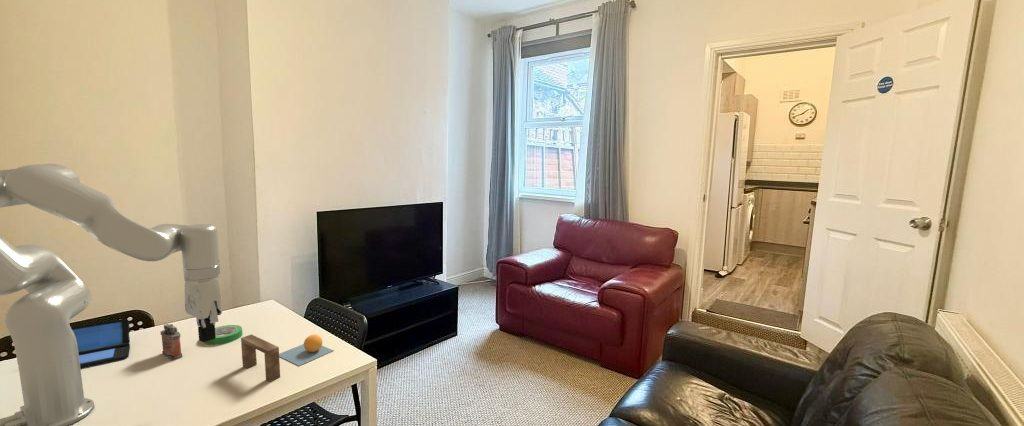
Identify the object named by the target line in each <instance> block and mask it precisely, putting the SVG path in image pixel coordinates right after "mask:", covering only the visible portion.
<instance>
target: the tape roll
mask: <svg viewBox="0 0 1024 426" xmlns="http://www.w3.org/2000/svg"><path fill="white" fill-rule="evenodd" d="M221 334H223V335H221ZM215 335H216V338H215V339H212V340H209V341H206V342H203V343H204V344H206V345H213V346H215V345H217V346H218V345H224V344H228V343H231V342H234V341H236V340H239V339H241V338H242V337H243V327H242V326H241V325H239V324H228V325H227V324H226V325H221V326H215Z"/></svg>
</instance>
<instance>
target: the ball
mask: <svg viewBox="0 0 1024 426" xmlns="http://www.w3.org/2000/svg"><path fill="white" fill-rule="evenodd" d="M303 344H304V348H305V349H306V350H307V351H309V352H316V351H318V350H319V349H320V348H321V346H323V338H322V337H321V336H320V335H318V334H311V335H309V336H307V337H306V338H305V339H304V341H303Z"/></svg>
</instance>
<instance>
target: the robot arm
mask: <svg viewBox="0 0 1024 426" xmlns="http://www.w3.org/2000/svg"><path fill="white" fill-rule="evenodd" d="M20 205H30V206H32V207H34V208H36V209H39V210H42V211H44V212H46V213H48V214H51V215H54V216H55V217H59V218H60V219H63V220H65V221H67V222H70V223H72V224H74V225H77V226H79V227H81V228H82V229H84V230H85V231H86V233H88V234H89V235H91V237H93V238H94V239H95V240H97V241H98V242H99V243H100V244H103V245H104V246H106V247H108V248H109V249H111V250H114V251H116V252H119V253H121V254H123V255H126V256H128V257H131V258H133V259H136V260H140V261H144V262H159V261H162V260H164V259H166V258H167V257H169V256H171V255H172V254H175V253H177V252H181V256H182V257H181V258H182V267H183V268H182V269H183V281H184V308H185V309H184V310H185V312H186V314H188V315H190V316H192V317H194V318H196V325H197V331H198V332H197V333H198V341H199V342H201V343H204V342H206V341H209V340H212V339H215V338H216V336H217V335H215V328H216V323H218V322H219V317H218V316H221V315H222V313H223V298H222V292H221V285H220V281H219V280H220V279H219V278H221V269H220V268H221V266H220V264H221V263H220V253H219V252H220V251H219V239H218V238H219V237H218V236H219V235H218V229H217V227H216V226H215V225H213V224H209V223H207V224H206V223H202V224H201V223H198V224H189V225H186V224H175V223H163V224H158V225H156V226H155V225H154V226H153V227H151V228H149V227H147V226H144V225H143V224H140V223H137V222H136V221H135V220H132V219H130V218H129V217H126V216H125V215H123V214H121V213H120V212H119V210H117V208H116V206H115V204H114V201H113V199H112V197H110V196H109V195H107V194H105V193H103V192H101V191H98V190H96V189H95V188H92V187H89V186H88V185H85V184H84V183H81V180H80V178H79V176H78V175H77V173H76V172H75V171H73V169H71V168H70V167H67V166H64V165H62V164H57V163H41V164H40V163H39V164H38V163H37V164H27V165H23V166H18V167H16V168H10V169H2V170H0V209H1V208H7V207H13V206H20ZM22 290H25V291H26V292H27V293H26V294H25V295H23V296H21V297H19V298H17V300H15V301H14V302H13V303H12V304H11V305H10V306H9V307H8V310H7V311H6V314H5V317H4V322H5V325H6V326H5V327H6V329H7V331H8V333H9V335H10V337H11V338H10V339H11V340H12V343H13V346H14V350H15V356H16V361H17V365H18V366H17V367H18V371H19V372H18V373H19V379H20V386H21V393H22V394H21V395H22V399H23V400H22V401H23V405H21V406H19V411H16V412H14V414H13V415H9V416H7V417H3V418H0V426H70V425H72V424H74V423H77V422H78V421H80V420H82V419H84V418H85V417H87V416H88V415H90V413H92V411H93V410H94V409H95V402H94V400H93V399H90V398H88V397H86V398H85V392H84V386H83V385H84V384H83V377H82V368H80V360H79V352H78V346H77V340H76V337H75V334H74V332H73V331H72V329H71V327H72V326H70V324H71V323H70V320H71V319H73V318H74V317H76V316H77V315H79V314H80V313H81V312H83V311H84V310H85V309H86V308H87V307H88V306H89V304H90V302H91V299H92V293H91V291H90V289H89V287H88V286H87V284H86V283H85V282H84V281H83V280H82V278H81V277H80V276H78V275H77V274H76V273H75V272H74V270H73V269H71V268H70V266H69V265H68V264H67V263H66V262H65V261H64V260H63V259H62V258H61V257H60V256H59V255H58V254H56V253H55V252H54V251H52V250H50V249H49V248H47V247H44V246H41V245H37V244H21V245H17V246H14V245H12V244H11V242H9V241H8V240H6V238H4V237H3V235H1V233H0V296H7V295H12V294H14V293H17V292H20V291H22Z"/></svg>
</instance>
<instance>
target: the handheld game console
mask: <svg viewBox="0 0 1024 426" xmlns="http://www.w3.org/2000/svg"><path fill="white" fill-rule="evenodd" d="M70 327H71V329H72V331H73V332H74V334H75V337H76V340H77V346H78V352H79V360H80V368H81V369H85V367H86V368H90V366H91V367H94V366H99V365H105V364H109V363H113V362H119V361H124V360H126V359H127V358H129V356H130V351H131V350H130V349H131V344H130V339H131V337H130V322H129V320H128V319H127V318H119V319H112V320H105V321H100V322H93V323H88V324H80V325H75V326H70Z"/></svg>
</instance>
